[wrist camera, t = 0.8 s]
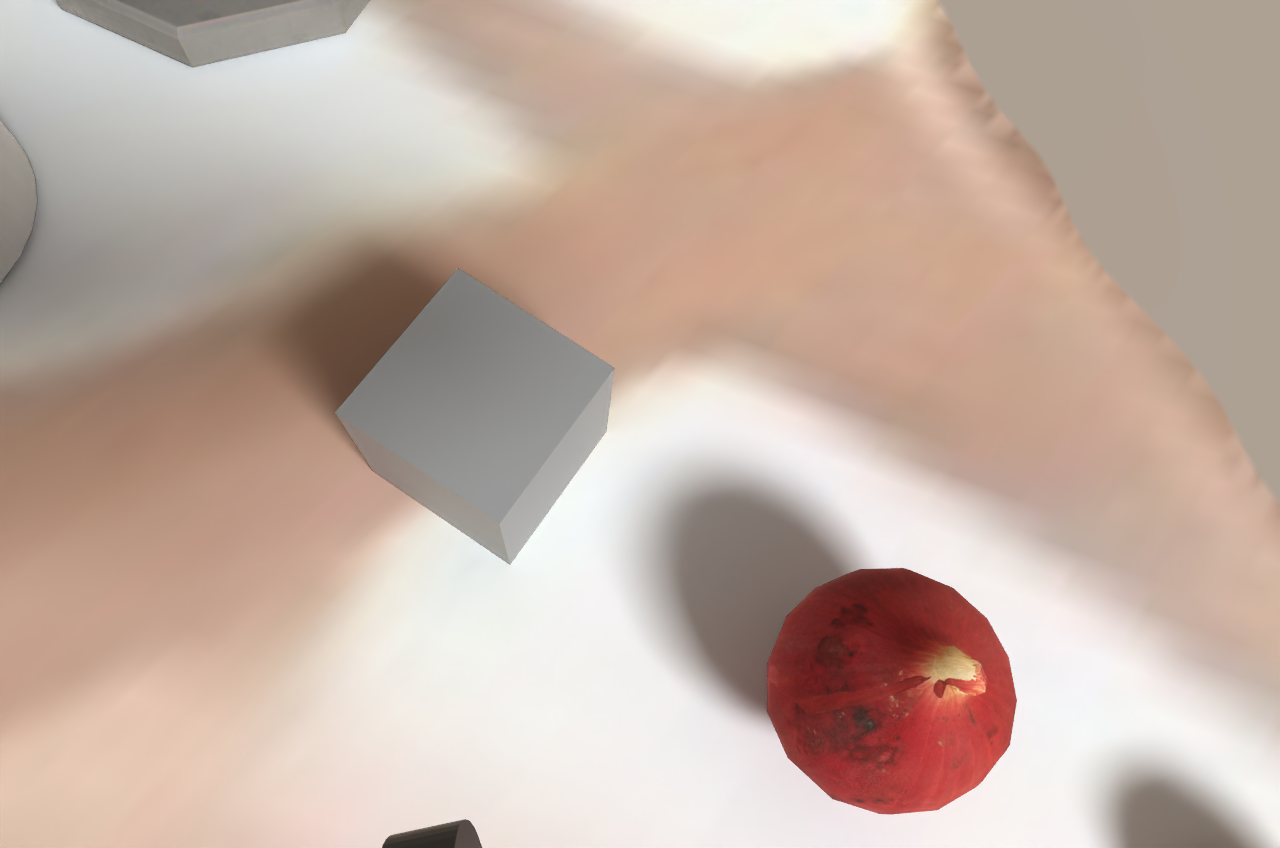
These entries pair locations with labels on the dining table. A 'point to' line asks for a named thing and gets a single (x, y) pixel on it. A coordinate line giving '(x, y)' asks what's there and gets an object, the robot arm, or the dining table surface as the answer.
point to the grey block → (481, 413)
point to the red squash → (890, 691)
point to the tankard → (218, 24)
